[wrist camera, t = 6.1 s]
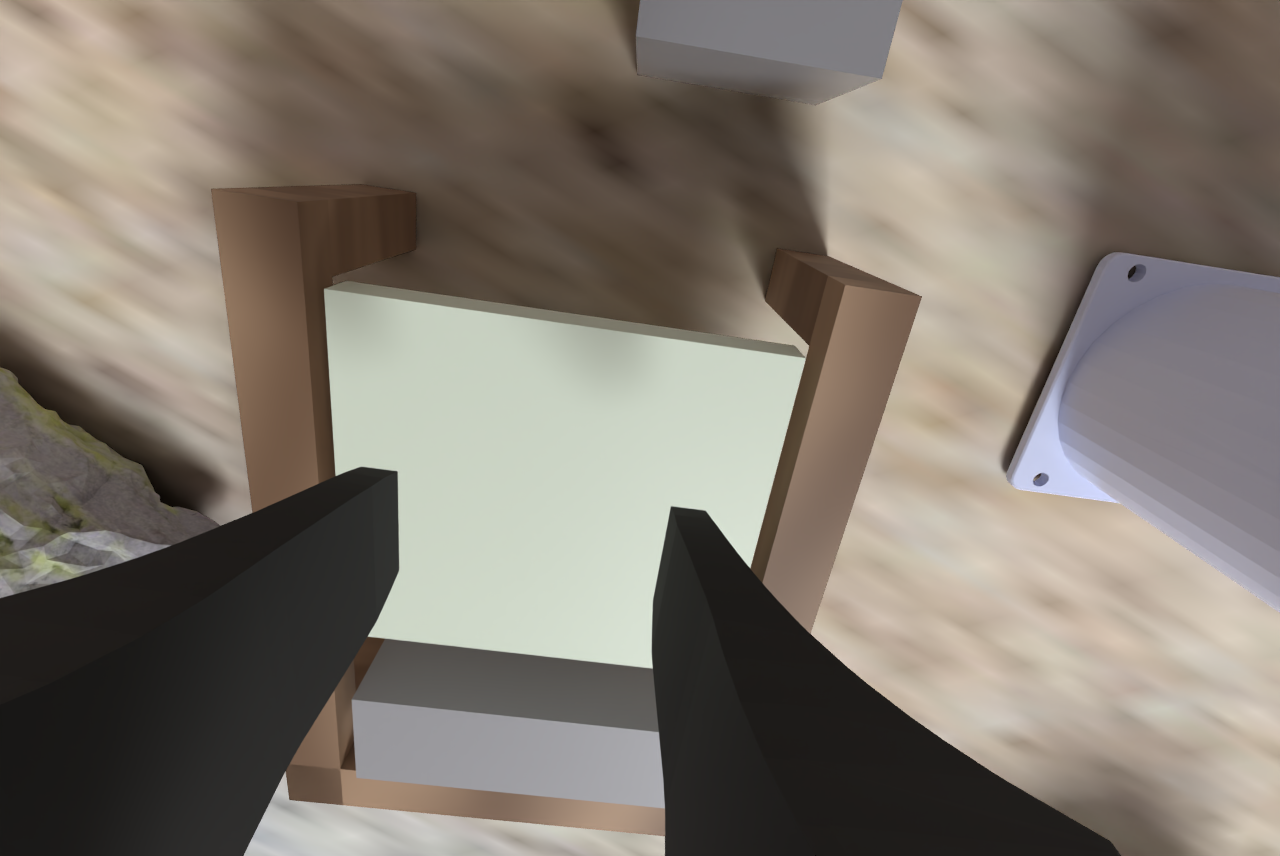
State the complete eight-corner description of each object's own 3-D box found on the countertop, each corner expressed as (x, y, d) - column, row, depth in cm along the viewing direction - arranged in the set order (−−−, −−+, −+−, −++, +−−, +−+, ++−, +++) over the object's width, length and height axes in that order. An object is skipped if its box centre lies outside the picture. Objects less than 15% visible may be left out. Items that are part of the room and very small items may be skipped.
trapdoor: (687, 738, 19) (693, 811, 17) (377, 705, 19) (341, 776, 17) (787, 338, 14) (815, 368, 12) (360, 275, 14) (306, 295, 11)
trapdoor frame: (828, 256, 18) (922, 296, 12) (716, 682, 25) (741, 843, 19) (360, 184, 17) (211, 189, 11) (377, 644, 24) (289, 799, 18)
